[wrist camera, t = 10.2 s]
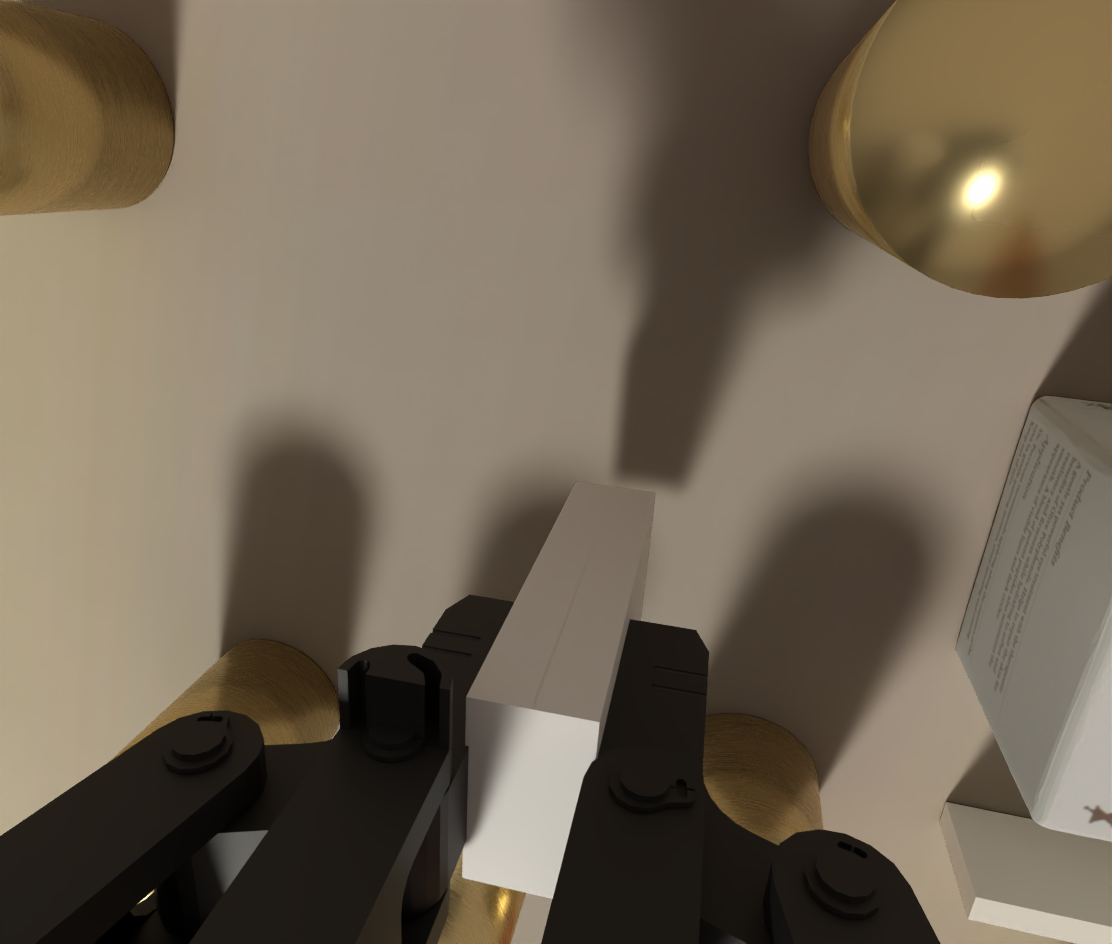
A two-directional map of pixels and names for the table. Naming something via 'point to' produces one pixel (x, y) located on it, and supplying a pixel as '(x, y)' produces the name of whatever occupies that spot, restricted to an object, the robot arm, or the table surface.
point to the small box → (1051, 618)
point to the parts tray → (1030, 875)
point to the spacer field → (840, 179)
